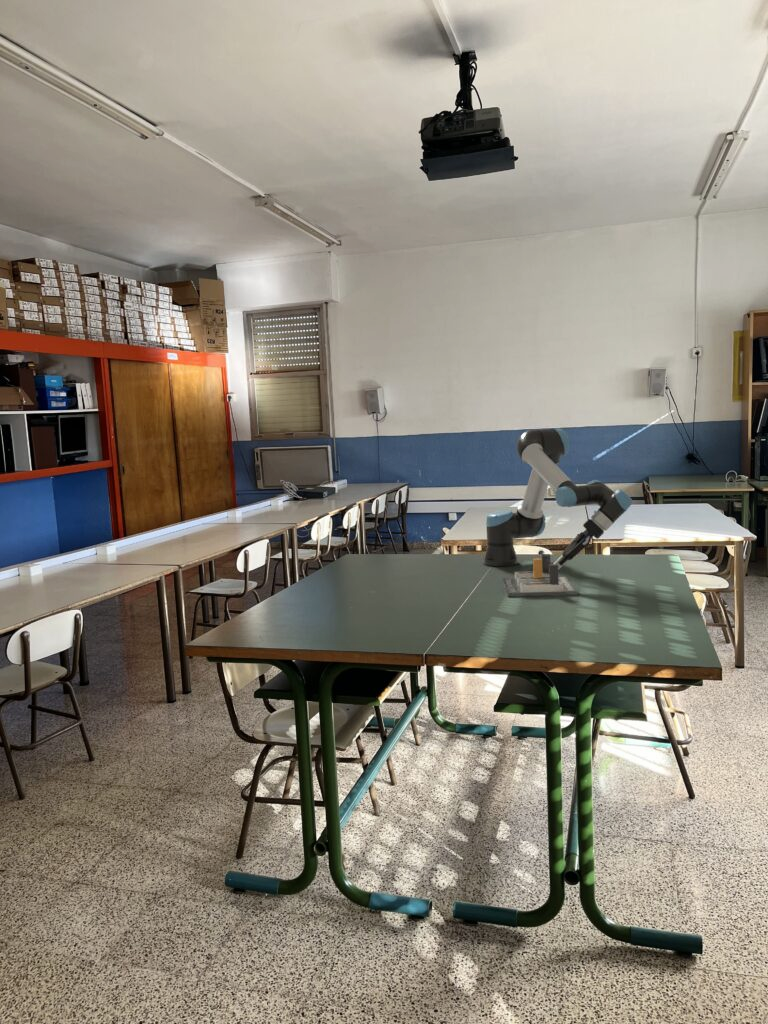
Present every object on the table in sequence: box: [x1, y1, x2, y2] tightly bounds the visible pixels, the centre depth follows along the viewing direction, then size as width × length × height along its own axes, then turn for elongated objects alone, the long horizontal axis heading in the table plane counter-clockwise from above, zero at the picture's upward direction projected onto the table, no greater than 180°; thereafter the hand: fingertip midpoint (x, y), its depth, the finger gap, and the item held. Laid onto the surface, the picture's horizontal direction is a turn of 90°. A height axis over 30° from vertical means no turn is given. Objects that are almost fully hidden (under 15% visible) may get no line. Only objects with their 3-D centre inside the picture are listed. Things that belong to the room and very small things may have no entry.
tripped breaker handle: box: [532, 557, 542, 578], centre depth 284 cm, size 2×3×7 cm
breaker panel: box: [501, 553, 578, 598], centre depth 284 cm, size 25×25×11 cm
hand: (552, 569), depth 284 cm, fingers closed
